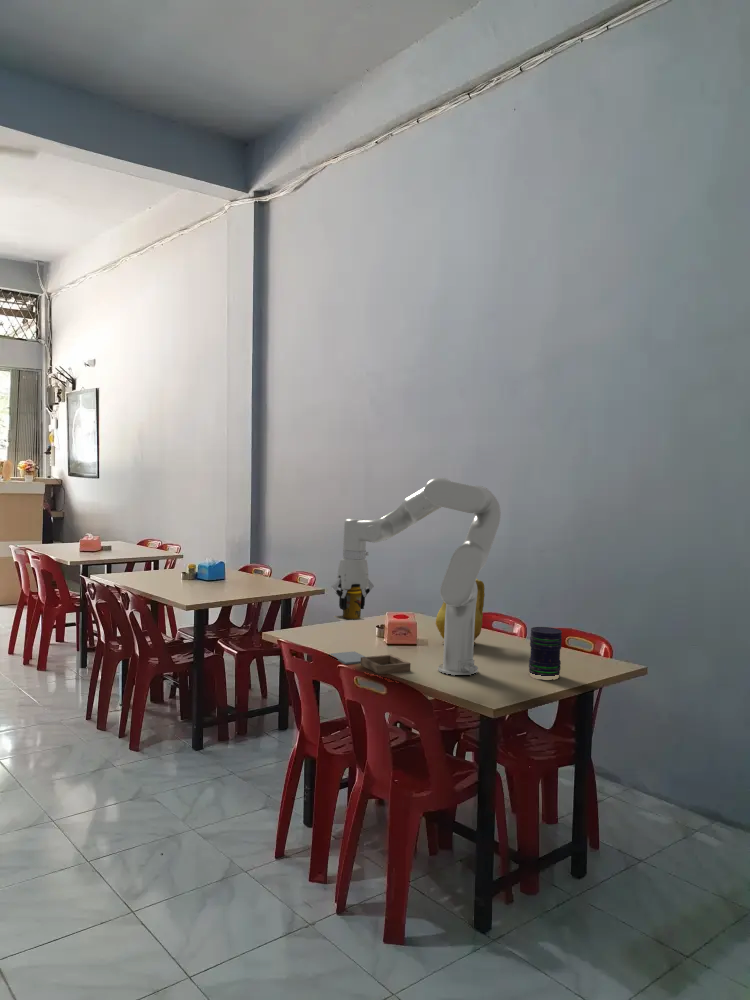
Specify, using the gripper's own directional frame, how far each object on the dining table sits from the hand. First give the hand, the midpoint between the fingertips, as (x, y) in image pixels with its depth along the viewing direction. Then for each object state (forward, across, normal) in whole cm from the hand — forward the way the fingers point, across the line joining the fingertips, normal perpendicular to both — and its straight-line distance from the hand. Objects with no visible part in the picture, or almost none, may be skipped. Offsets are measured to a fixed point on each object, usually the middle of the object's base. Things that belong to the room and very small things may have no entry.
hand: (351, 608), depth 259 cm
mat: (+17, 0, 0) cm, 17 cm away
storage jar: (+17, -48, +42) cm, 66 cm away
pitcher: (+17, -49, -6) cm, 52 cm away
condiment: (+4, +1, 0) cm, 4 cm away
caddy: (+17, -5, +15) cm, 23 cm away
